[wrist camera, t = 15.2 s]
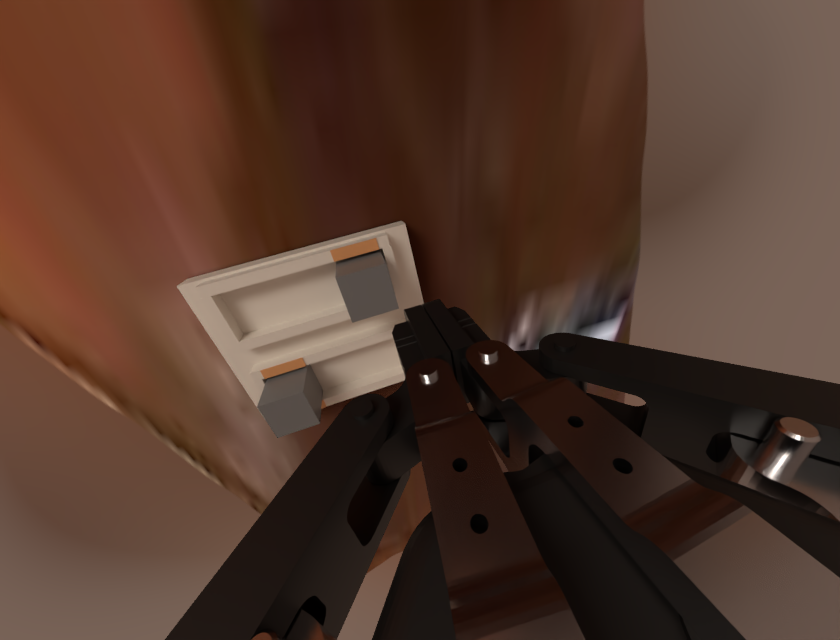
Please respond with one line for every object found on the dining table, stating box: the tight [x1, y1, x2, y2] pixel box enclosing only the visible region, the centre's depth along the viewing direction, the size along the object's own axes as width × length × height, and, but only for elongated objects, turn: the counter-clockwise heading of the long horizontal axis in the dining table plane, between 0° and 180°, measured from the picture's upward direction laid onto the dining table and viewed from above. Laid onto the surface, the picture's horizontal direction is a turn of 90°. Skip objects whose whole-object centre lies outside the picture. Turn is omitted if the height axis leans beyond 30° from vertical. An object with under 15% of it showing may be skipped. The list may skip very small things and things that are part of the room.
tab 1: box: [257, 364, 323, 438], centre depth 29 cm, size 4×4×5 cm
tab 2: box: [335, 250, 399, 323], centre depth 26 cm, size 4×4×5 cm
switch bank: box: [177, 221, 424, 419], centre depth 30 cm, size 16×20×4 cm
